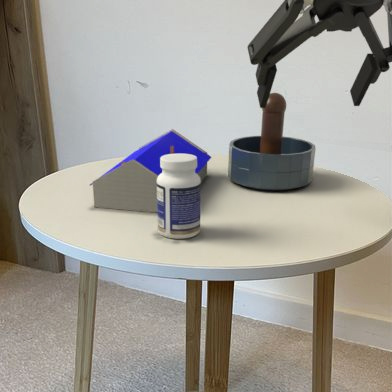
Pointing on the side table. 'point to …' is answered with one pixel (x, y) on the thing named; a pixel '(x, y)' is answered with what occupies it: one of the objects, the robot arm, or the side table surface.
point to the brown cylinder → (272, 124)
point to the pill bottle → (178, 196)
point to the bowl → (271, 164)
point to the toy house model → (143, 174)
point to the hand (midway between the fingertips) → (308, 99)
